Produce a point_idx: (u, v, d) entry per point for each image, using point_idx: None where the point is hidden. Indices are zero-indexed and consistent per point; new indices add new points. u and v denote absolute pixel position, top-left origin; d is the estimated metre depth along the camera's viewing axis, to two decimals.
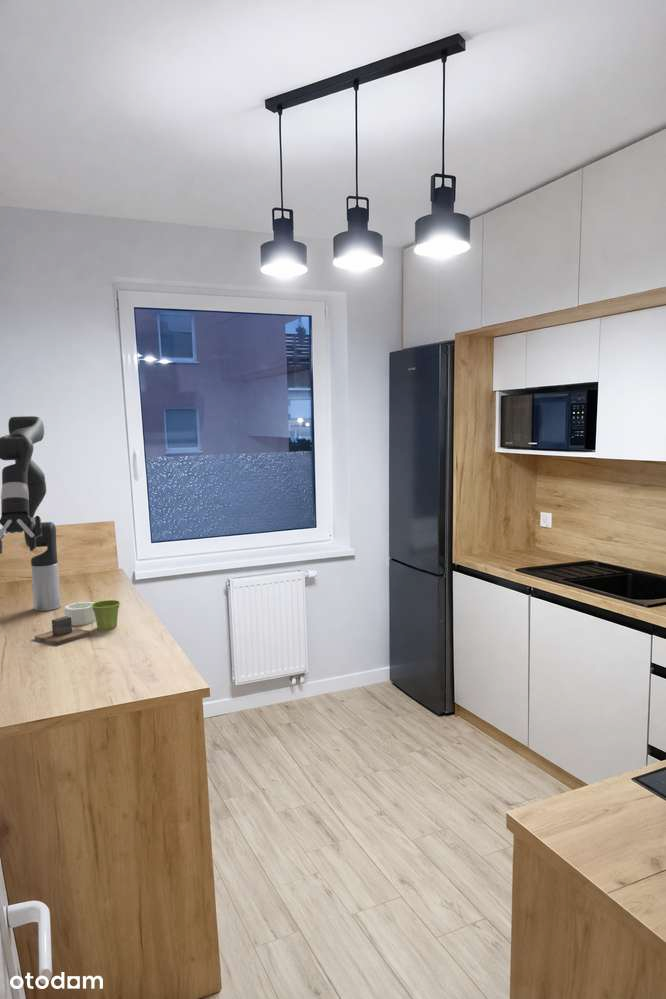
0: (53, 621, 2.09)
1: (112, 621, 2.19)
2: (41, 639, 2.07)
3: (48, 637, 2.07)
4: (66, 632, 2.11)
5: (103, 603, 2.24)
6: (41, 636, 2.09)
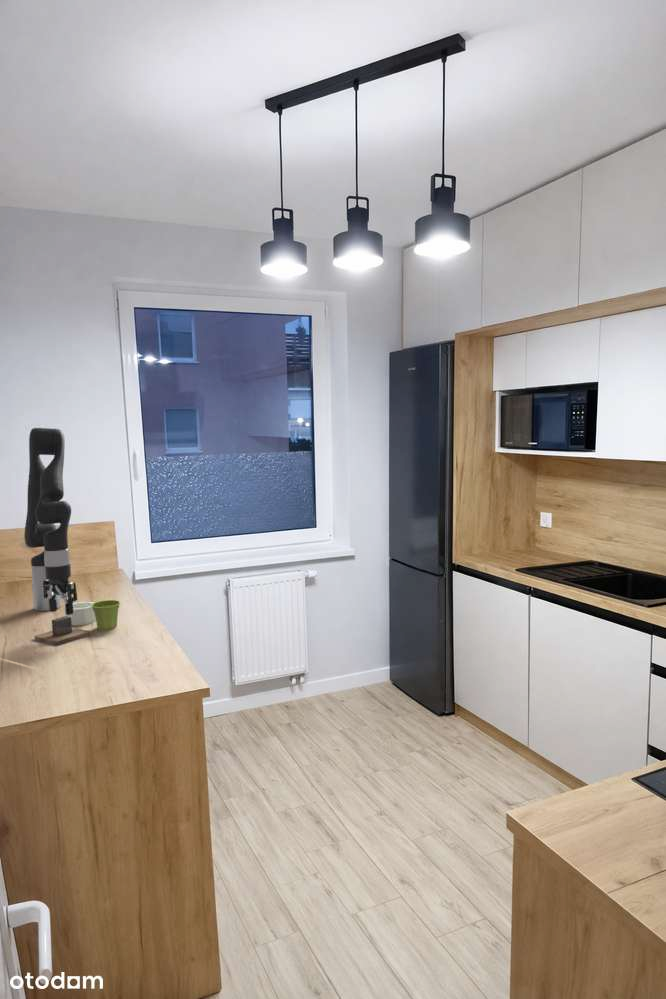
0: (53, 621, 2.09)
1: (112, 621, 2.19)
2: (41, 639, 2.07)
3: (48, 637, 2.07)
4: (66, 632, 2.11)
5: (103, 603, 2.24)
6: (41, 636, 2.09)
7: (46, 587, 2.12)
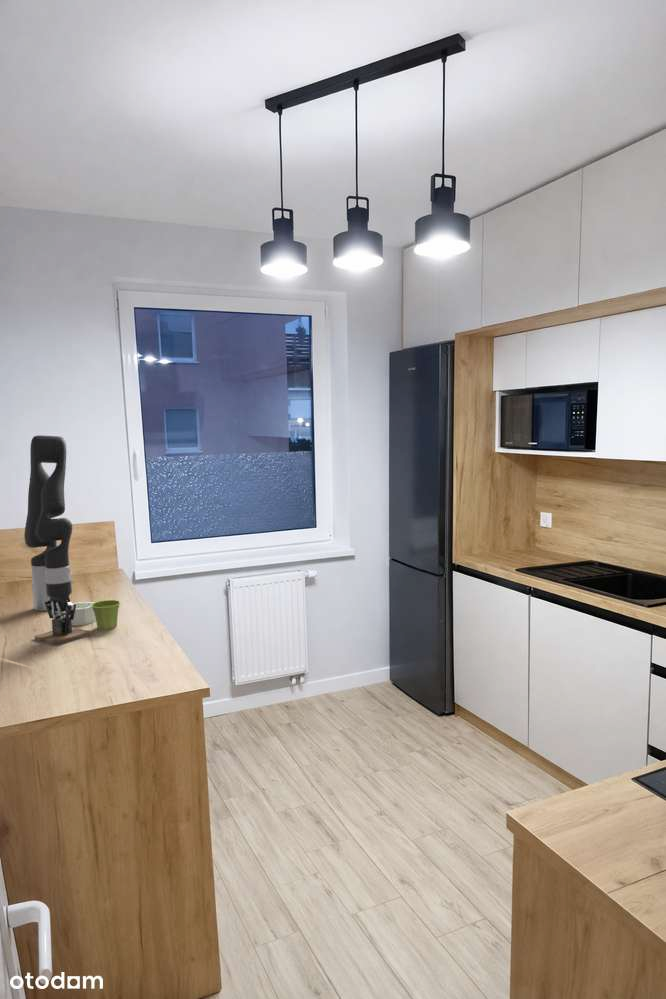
0: (53, 621, 2.09)
1: (112, 621, 2.19)
2: (41, 639, 2.07)
3: (48, 637, 2.07)
4: None
5: (103, 603, 2.24)
6: (41, 636, 2.09)
7: (49, 607, 2.12)
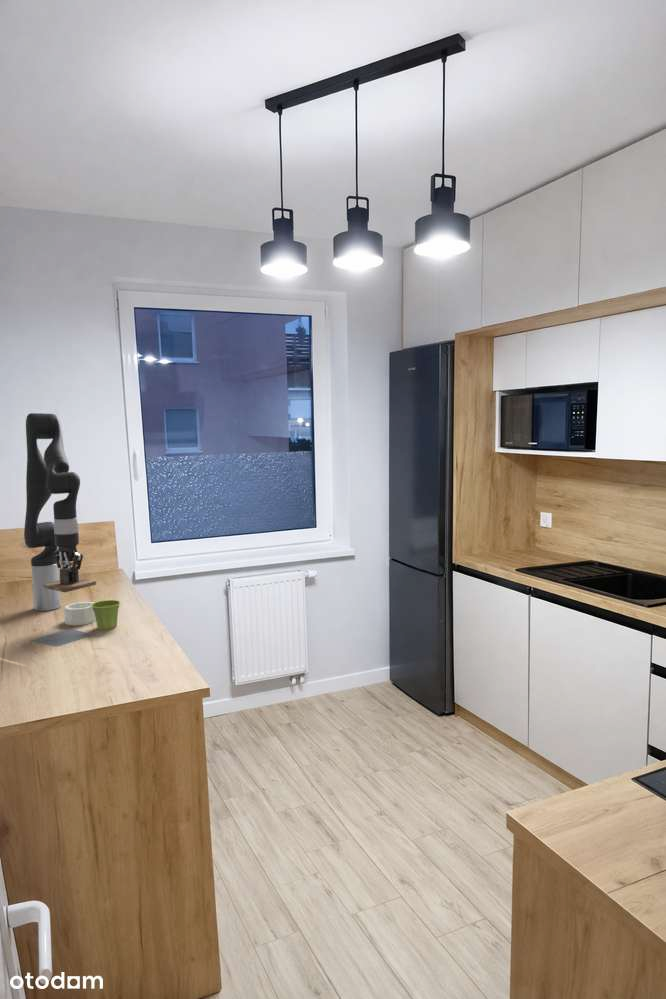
0: (61, 570, 2.19)
1: (112, 621, 2.19)
2: (49, 587, 2.18)
3: (56, 585, 2.17)
4: None
5: (103, 603, 2.24)
6: (49, 584, 2.19)
7: (57, 557, 2.22)
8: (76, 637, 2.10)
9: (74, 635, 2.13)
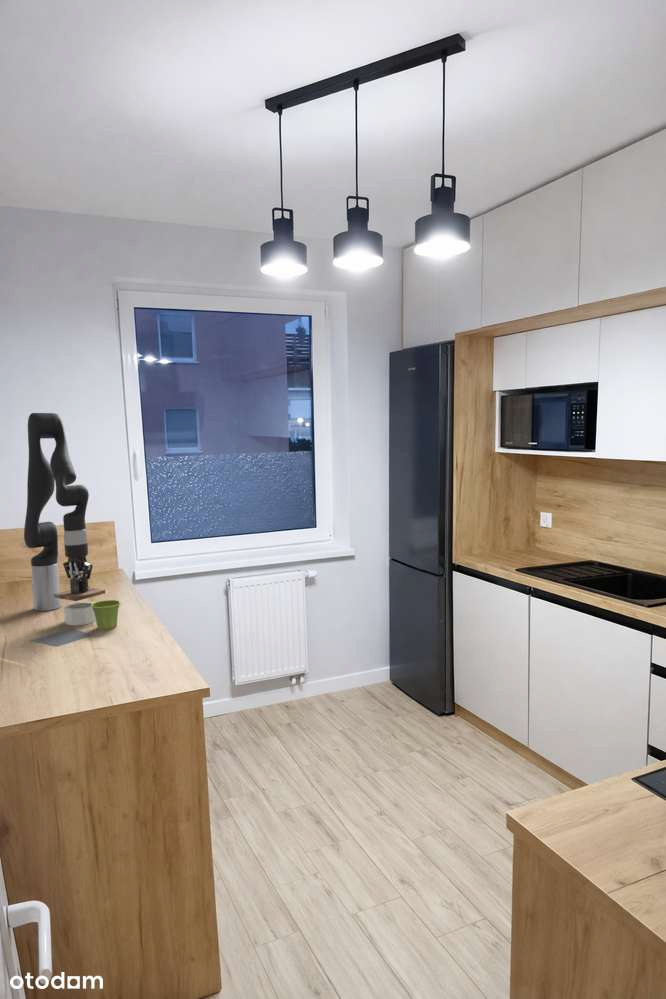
0: (71, 580, 2.26)
1: (112, 621, 2.19)
2: (60, 596, 2.25)
3: (67, 595, 2.25)
4: None
5: (103, 603, 2.24)
6: (60, 594, 2.26)
7: (67, 568, 2.30)
8: (76, 637, 2.10)
9: (74, 635, 2.13)
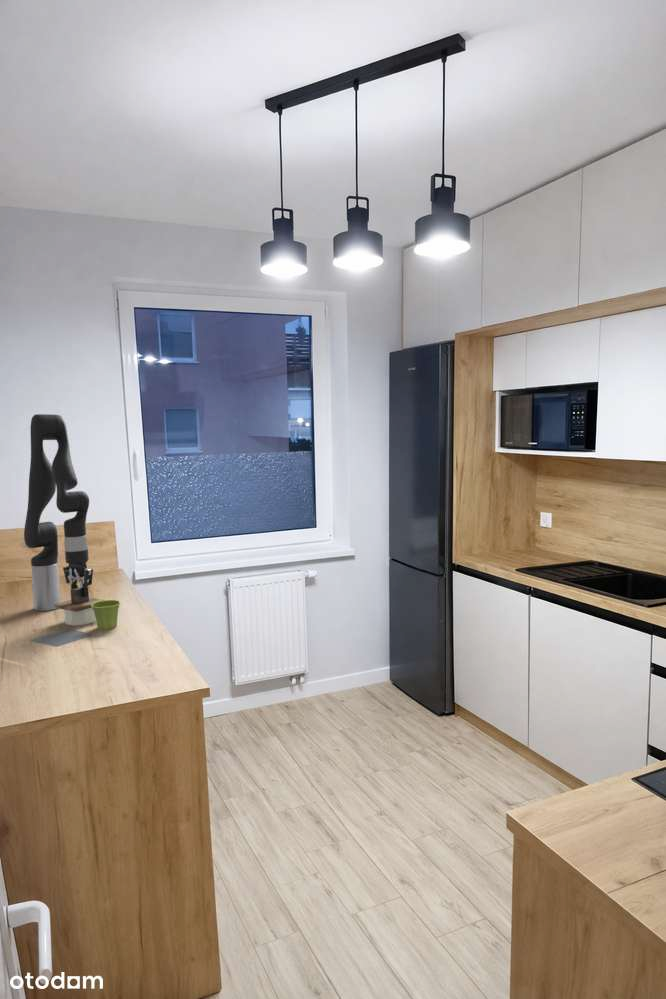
0: (72, 590, 2.27)
1: (112, 621, 2.19)
2: (61, 607, 2.25)
3: (67, 605, 2.25)
4: (84, 601, 2.29)
5: (103, 603, 2.24)
6: (61, 604, 2.27)
7: (67, 573, 2.30)
8: (76, 637, 2.10)
9: (74, 635, 2.13)
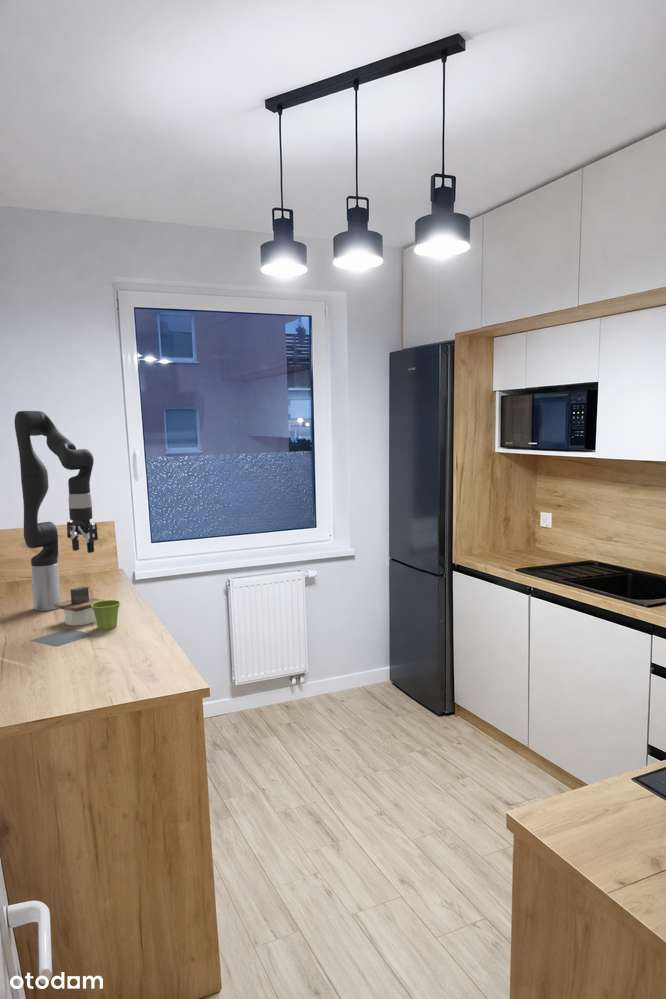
0: (72, 590, 2.27)
1: (112, 621, 2.19)
2: (61, 607, 2.25)
3: (67, 605, 2.25)
4: (84, 601, 2.29)
5: (103, 603, 2.24)
6: (61, 604, 2.27)
7: (70, 528, 2.33)
8: (76, 637, 2.10)
9: (74, 635, 2.13)
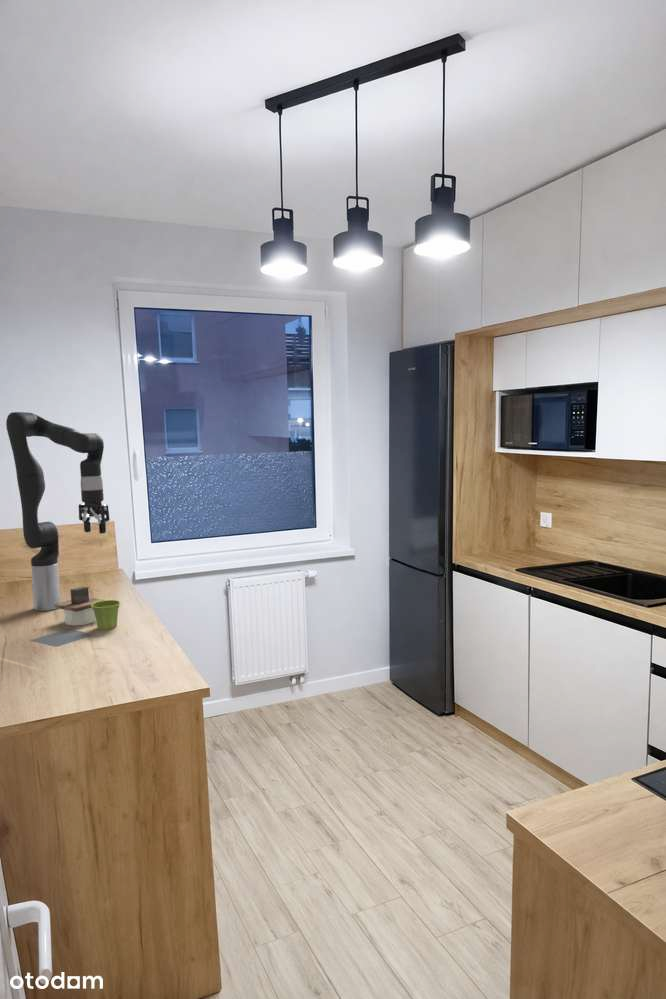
0: (72, 590, 2.27)
1: (112, 621, 2.19)
2: (61, 607, 2.25)
3: (67, 605, 2.25)
4: (84, 601, 2.29)
5: (103, 603, 2.24)
6: (61, 604, 2.27)
7: (81, 510, 2.40)
8: (76, 637, 2.10)
9: (74, 635, 2.13)
